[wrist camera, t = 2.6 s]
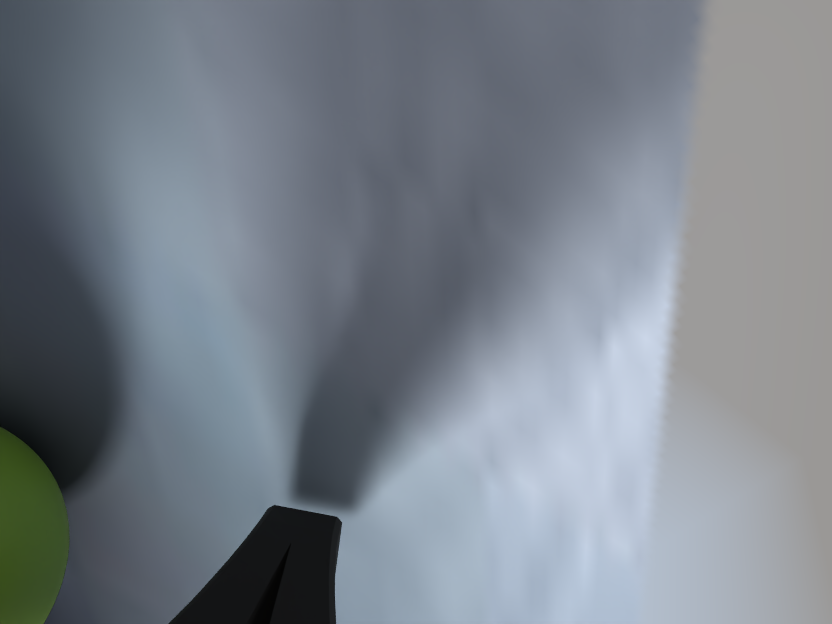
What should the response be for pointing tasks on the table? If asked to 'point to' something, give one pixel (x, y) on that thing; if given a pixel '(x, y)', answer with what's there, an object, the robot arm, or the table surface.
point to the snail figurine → (29, 534)
